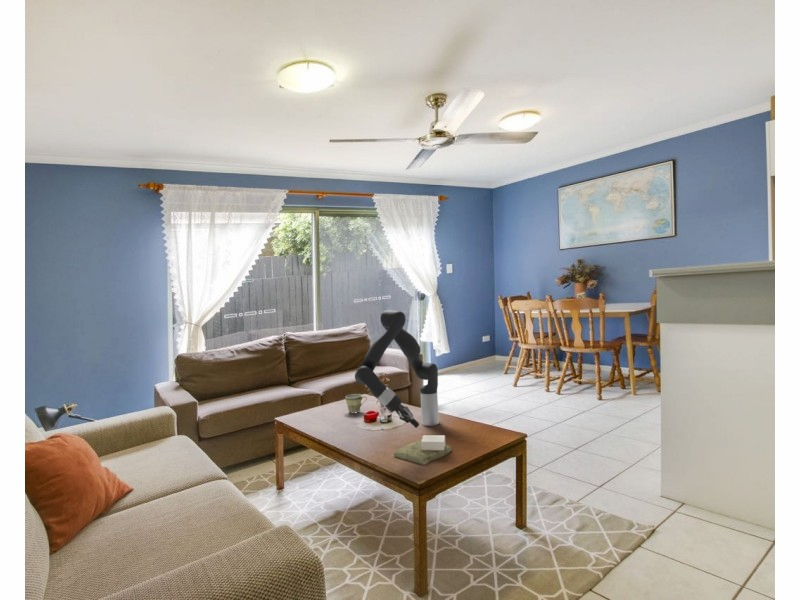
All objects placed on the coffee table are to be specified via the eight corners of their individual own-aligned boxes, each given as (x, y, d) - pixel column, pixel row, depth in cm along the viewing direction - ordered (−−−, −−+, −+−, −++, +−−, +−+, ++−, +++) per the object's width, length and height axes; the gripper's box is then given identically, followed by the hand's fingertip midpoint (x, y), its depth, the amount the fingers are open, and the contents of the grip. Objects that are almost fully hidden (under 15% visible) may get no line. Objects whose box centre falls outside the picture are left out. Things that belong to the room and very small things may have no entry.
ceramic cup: (345, 414, 265) (344, 398, 265) (347, 410, 275) (346, 394, 275) (366, 413, 265) (366, 397, 265) (367, 409, 275) (367, 393, 275)
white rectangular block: (423, 435, 203) (444, 435, 201) (423, 443, 203) (445, 444, 201) (421, 441, 195) (443, 441, 193) (421, 450, 195) (444, 450, 193)
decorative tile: (393, 457, 197) (393, 450, 197) (421, 444, 212) (421, 437, 212) (426, 468, 185) (425, 459, 185) (453, 452, 200) (453, 445, 200)
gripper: (392, 397, 193) (422, 424, 192) (397, 390, 206) (424, 415, 205) (381, 409, 194) (410, 437, 193) (386, 401, 207) (414, 427, 206)
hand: (417, 425), depth 199 cm, fingers closed
